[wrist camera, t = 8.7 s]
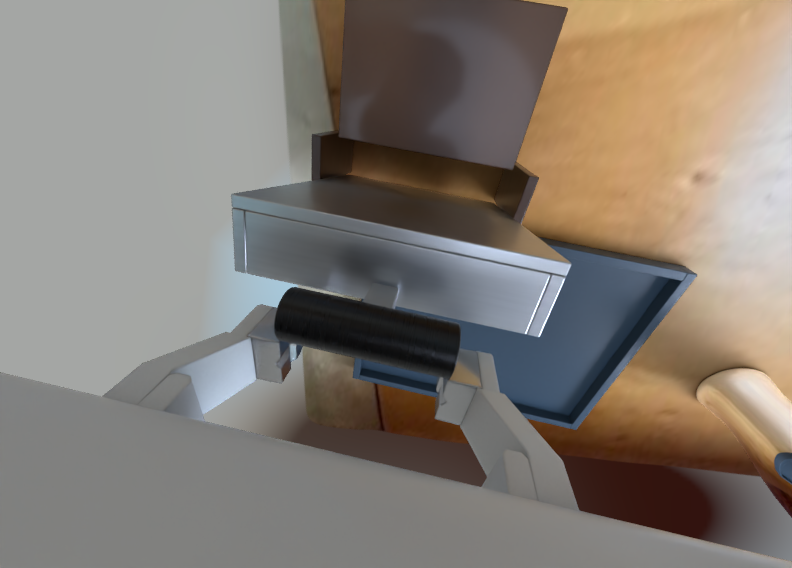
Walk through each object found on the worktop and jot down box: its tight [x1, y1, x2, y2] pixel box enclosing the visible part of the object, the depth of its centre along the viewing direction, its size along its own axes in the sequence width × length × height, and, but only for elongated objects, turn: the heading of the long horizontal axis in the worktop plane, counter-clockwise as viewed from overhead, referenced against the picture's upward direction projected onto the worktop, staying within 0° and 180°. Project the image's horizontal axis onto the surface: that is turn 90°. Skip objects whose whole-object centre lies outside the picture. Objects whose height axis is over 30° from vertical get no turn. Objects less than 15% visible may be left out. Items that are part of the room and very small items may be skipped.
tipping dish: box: [231, 175, 571, 379], centre depth 16 cm, size 12×19×3 cm
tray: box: [353, 237, 697, 430], centre depth 31 cm, size 28×22×2 cm
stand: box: [312, 0, 568, 224], centre depth 20 cm, size 14×11×8 cm
